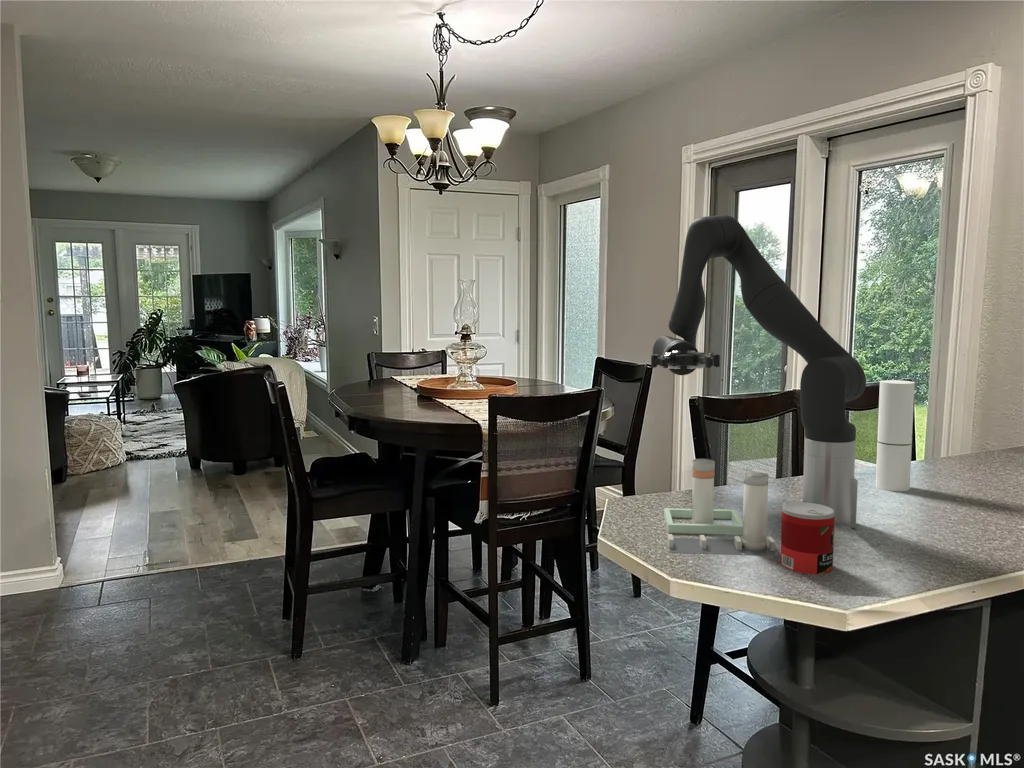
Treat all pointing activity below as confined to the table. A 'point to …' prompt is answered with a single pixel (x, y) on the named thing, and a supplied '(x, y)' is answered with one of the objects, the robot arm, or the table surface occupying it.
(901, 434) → the cylindrical container
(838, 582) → the table surface
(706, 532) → the tray
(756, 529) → the plain fuse
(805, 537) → the canned food
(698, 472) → the cylinder
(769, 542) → the clip block
